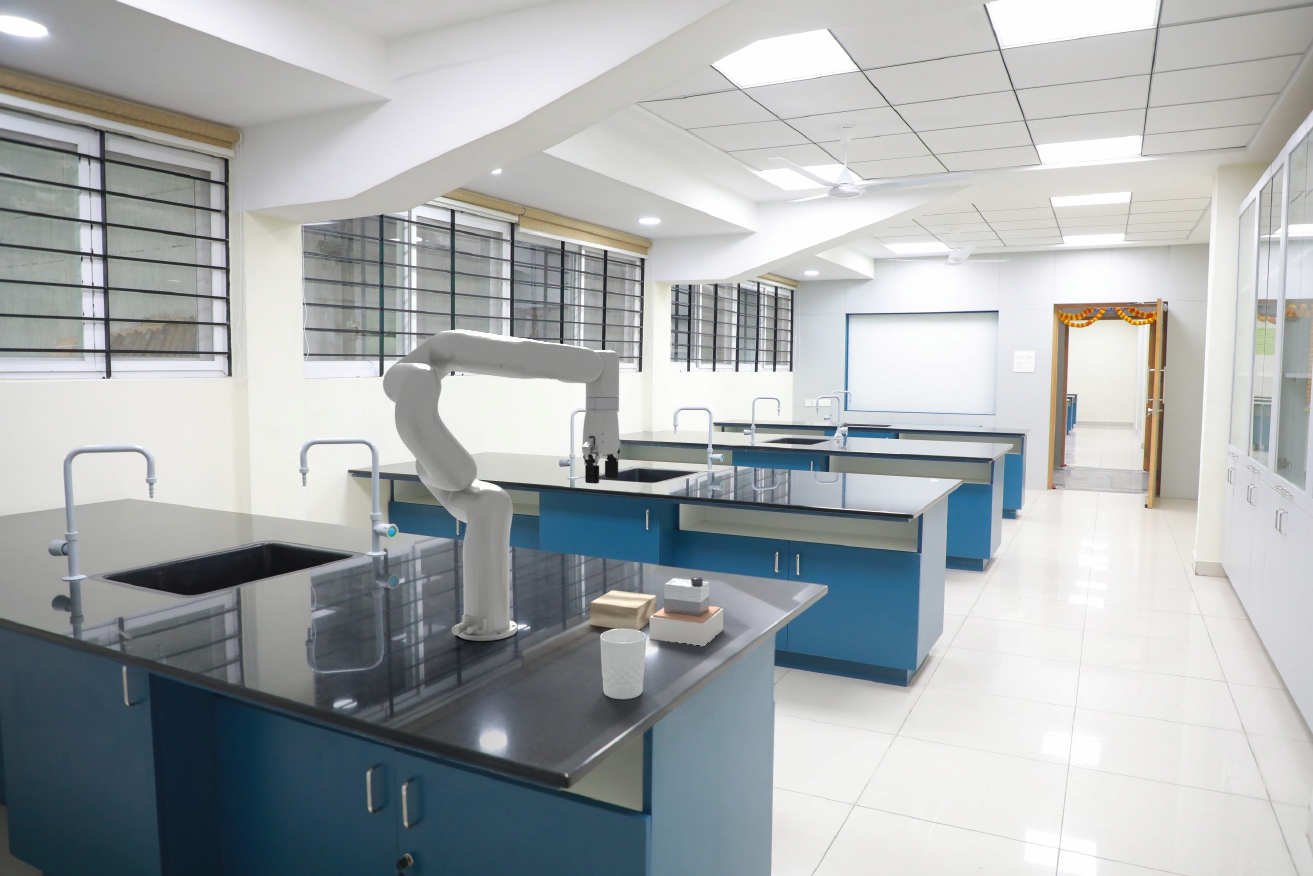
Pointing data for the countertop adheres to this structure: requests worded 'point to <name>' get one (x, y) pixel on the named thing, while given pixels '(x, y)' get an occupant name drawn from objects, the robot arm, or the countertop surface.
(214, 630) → the countertop surface
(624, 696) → the white cup
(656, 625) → the stand
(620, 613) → the stand
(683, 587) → the housing
